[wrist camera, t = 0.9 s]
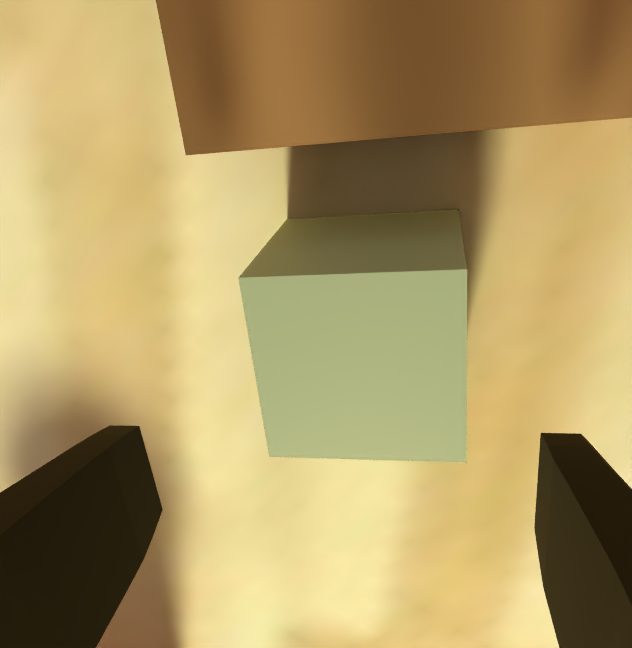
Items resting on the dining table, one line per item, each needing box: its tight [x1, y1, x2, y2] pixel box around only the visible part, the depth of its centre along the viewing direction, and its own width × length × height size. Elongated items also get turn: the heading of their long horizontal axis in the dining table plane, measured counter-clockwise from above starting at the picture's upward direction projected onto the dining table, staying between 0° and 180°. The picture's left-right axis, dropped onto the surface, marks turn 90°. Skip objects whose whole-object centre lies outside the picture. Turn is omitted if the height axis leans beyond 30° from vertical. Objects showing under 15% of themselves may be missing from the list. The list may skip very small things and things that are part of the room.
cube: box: [239, 209, 467, 463], centre depth 16 cm, size 5×5×5 cm
